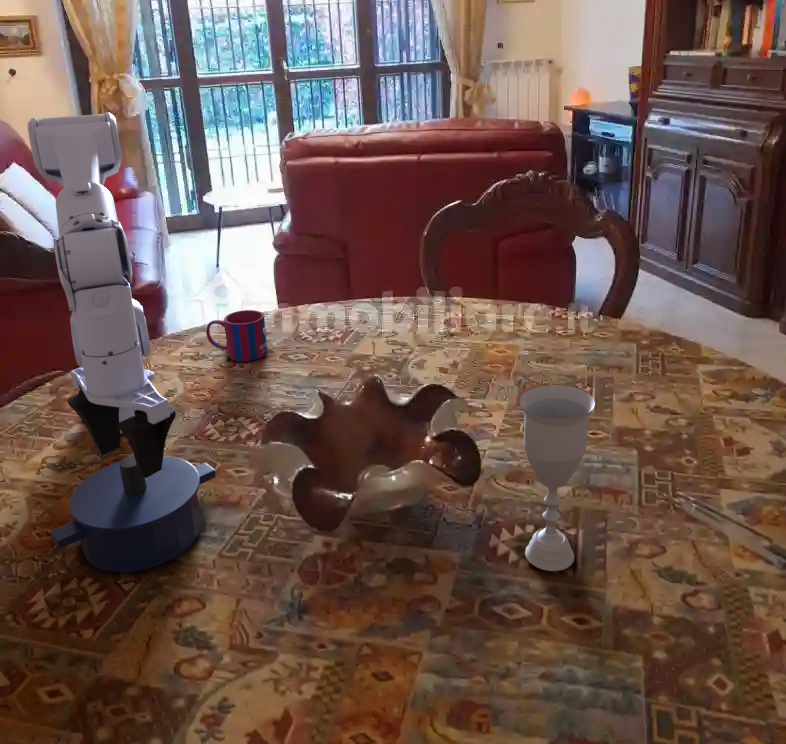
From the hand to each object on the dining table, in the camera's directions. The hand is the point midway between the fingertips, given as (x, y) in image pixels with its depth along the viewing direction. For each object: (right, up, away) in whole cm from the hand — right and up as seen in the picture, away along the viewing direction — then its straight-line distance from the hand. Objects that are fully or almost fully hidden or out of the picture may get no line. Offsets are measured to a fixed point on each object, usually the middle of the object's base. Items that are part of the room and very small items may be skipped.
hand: (130, 461), depth 81 cm
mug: (+2, +8, +49) cm, 50 cm away
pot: (0, -9, +3) cm, 9 cm away
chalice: (+45, -10, -2) cm, 46 cm away
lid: (0, -4, +1) cm, 4 cm away
